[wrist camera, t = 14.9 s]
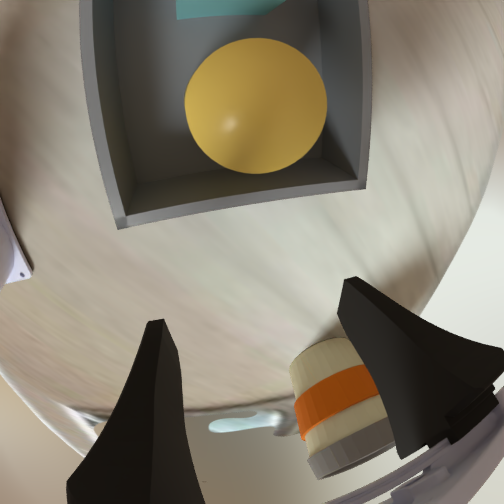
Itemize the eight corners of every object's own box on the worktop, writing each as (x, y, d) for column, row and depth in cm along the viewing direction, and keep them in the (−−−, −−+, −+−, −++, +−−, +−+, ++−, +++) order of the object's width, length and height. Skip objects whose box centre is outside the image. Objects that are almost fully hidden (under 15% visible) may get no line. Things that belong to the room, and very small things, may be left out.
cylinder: (194, 147, 15) (203, 188, 10) (176, 68, 12) (172, 52, 7) (275, 130, 16) (331, 160, 10) (263, 53, 13) (318, 35, 7)
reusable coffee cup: (346, 373, 38) (386, 452, 26) (269, 392, 35) (302, 486, 23) (376, 318, 31) (439, 413, 19) (284, 338, 28) (338, 466, 16)
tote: (325, 162, 18) (365, 189, 14) (132, 192, 16) (117, 229, 12) (313, -54, 8) (352, -80, 4) (107, -45, 6) (88, -78, 2)
